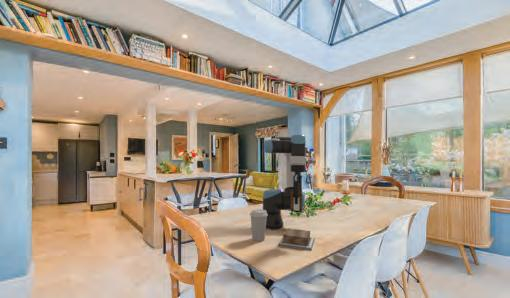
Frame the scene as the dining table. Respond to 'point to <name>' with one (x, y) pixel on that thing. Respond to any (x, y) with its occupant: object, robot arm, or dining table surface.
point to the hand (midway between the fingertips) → (297, 209)
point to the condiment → (299, 202)
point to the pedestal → (296, 237)
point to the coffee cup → (258, 224)
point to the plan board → (298, 245)
